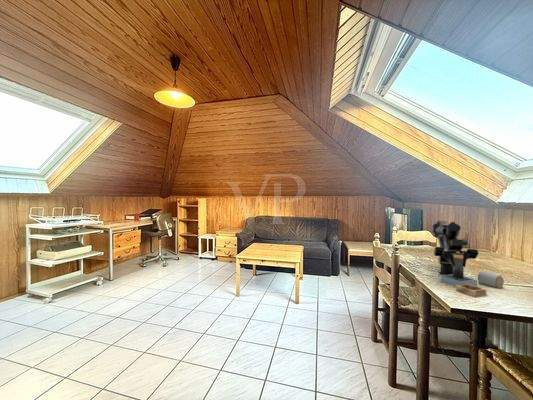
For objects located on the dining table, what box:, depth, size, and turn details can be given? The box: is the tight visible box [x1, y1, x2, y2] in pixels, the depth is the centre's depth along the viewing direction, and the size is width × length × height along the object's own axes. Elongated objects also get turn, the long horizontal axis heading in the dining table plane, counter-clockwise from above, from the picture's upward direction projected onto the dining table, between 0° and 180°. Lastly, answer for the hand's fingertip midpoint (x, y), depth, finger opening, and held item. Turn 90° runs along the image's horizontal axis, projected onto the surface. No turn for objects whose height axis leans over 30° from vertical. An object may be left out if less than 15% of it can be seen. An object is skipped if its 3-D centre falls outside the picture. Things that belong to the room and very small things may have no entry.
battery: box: [453, 252, 465, 279], centre depth 123 cm, size 4×4×14 cm
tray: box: [440, 274, 478, 287], centre depth 123 cm, size 11×11×4 cm
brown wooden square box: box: [454, 284, 488, 298], centre depth 111 cm, size 9×9×4 cm
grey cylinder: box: [477, 270, 504, 289], centre depth 121 cm, size 11×8×8 cm
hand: (458, 266), depth 122 cm, fingers closed on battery, 4 cm apart
